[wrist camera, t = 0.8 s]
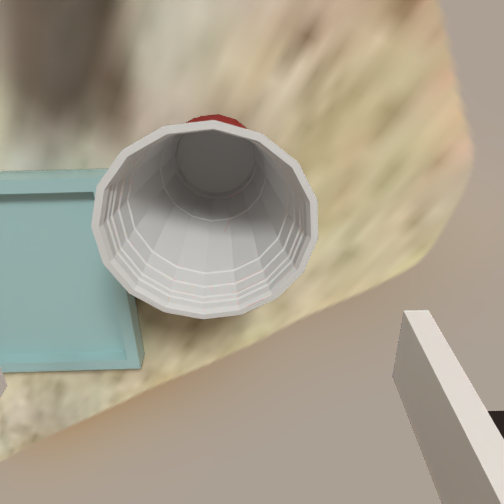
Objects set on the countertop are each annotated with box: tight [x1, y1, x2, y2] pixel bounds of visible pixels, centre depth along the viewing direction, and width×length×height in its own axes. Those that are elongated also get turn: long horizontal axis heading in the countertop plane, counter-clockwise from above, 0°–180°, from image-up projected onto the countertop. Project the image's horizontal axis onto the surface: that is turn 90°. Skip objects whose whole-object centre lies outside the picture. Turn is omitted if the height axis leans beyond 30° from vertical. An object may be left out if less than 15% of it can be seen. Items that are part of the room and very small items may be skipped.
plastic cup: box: [91, 114, 318, 319], centre depth 27 cm, size 11×11×12 cm
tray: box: [0, 169, 144, 373], centre depth 36 cm, size 17×17×2 cm
